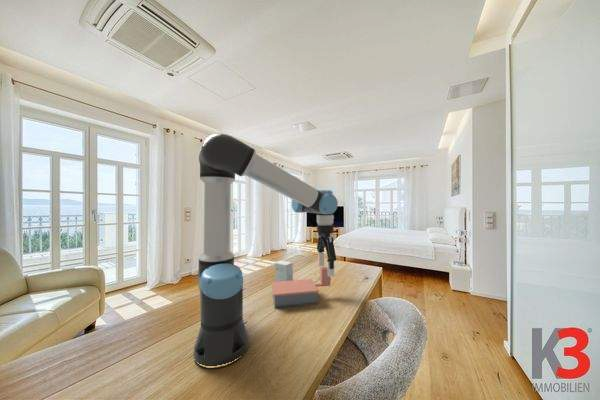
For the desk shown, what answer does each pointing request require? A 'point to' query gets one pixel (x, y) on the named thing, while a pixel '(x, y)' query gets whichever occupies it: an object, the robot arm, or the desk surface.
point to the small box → (283, 271)
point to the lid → (300, 285)
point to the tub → (295, 300)
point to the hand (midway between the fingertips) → (325, 270)
